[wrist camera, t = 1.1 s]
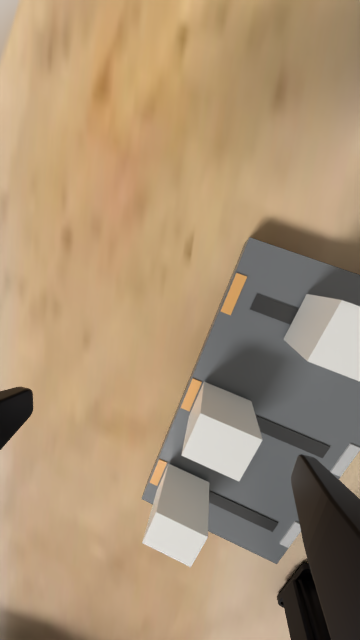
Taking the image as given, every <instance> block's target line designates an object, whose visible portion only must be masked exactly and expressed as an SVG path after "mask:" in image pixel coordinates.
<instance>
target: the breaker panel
mask: <svg viewBox="0 0 360 640" xmlns="http://www.w3.org/2000/svg"><path fill="white" fill-rule="evenodd" d="M306 294H310V295H316V296H322V297H327V298H333V299H339V300H343V301H346V302H349V303H352V304H354V305H357V306H360V275H358V274H355V273H352V272H349V271H347V270H344V269H341V268H338V267H335V266H332V265H329V264H326V263H323V262H320V261H317V260H314V259H311V258H309V257H306V256H303V255H300V254H297V253H294V252H291V251H288V250H285V249H282V248H279V247H276V246H273V245H271V244H268V243H265V242H262V241H259V240H256V239H253V238H250V237H249V239H248V240H247V241H246V242H245V245H244V247H243V249H242V252H241V254H240V257H239V259H238V262H237V264H236V267H235V269H234V271H233V274H232V276H231V279H230V281H229V284H228V286H227V288H226V291H225V293H224V296H223V298H222V301H221V303H220V306H219V308H218V310H217V313H216V315H215V318H214V320H213V323H212V325H211V327H210V330H209V332H208V335H207V337H206V340H205V342H204V345H203V347H202V349H201V352H200V354H199V357H198V359H197V362H196V364H195V366H194V369H193V371H192V374H191V376H190V379H189V381H188V384H187V386H186V388H185V391H184V393H183V396H182V398H181V401H180V403H179V405H178V408H177V410H176V413H175V415H174V418H173V420H172V423H171V425H170V427H169V430H168V432H167V435H166V437H165V440H164V442H163V444H162V447H161V449H160V452H159V454H158V457H157V459H156V462H155V464H154V466H153V469H152V471H151V474H150V476H149V479H148V481H147V484H146V487H145V490H144V493H143V496H142V499H143V500H145V501H147V502H149V503H151V504H153V502H154V499H155V495H156V491H157V489H158V486H159V484H160V482H161V479H162V477H163V475H164V473H165V470H166V468H167V466H168V464H170V465H173V466H175V467H177V468H179V469H181V470H183V471H186V472H188V473H190V474H192V475H194V476H196V477H199V478H201V479H203V480H205V481H207V482H209V513H208V531H209V532H211V533H213V534H215V535H217V536H220V537H222V538H224V539H226V540H228V541H230V542H232V543H234V544H236V545H238V546H240V547H242V548H244V549H247V550H249V551H251V552H253V553H255V554H257V555H259V556H261V557H263V558H265V559H267V560H269V561H271V562H273V563H276V564H277V563H278V562H279V560H280V559H281V558H282V556H283V555H284V553H285V552H286V551H287V549H288V548H289V547H290V545H291V544H292V542H293V541H294V540H295V538H296V537H297V536H298V534H299V533H300V532H301V528H300V524H299V519H298V514H297V509H296V505H295V500H294V495H293V490H292V486H291V474H292V471H293V468H294V465H295V462H296V459H297V457H298V455H300V454H303V455H307V456H311V457H314V458H316V459H317V460H318V461H319V462H320V463H321V464H322V465H324V466H325V467H326V468H327V469H328V470H329V471H330V472H331V473H332V474H333V475H334V476H335V477H336V478H337V479H339V478H340V477H341V475H342V474H343V473H344V471H345V470H346V469H347V467H348V466H349V464H350V463H351V462H352V460H353V459H354V458H355V456H356V455H357V454H358V452H359V451H360V381H357V380H354V379H352V378H349V377H347V376H344V375H341V374H339V373H336V372H334V371H331V370H329V369H326V368H323V367H321V366H318V365H316V364H313V363H310V362H308V361H306V360H305V359H304V358H303V357H302V356H301V355H300V354H299V353H298V352H297V351H295V350H294V349H293V348H292V347H291V346H290V345H289V344H288V343H287V342H286V341H284V340H283V339H284V337H285V335H286V333H287V331H288V329H289V327H290V325H291V323H292V322H293V320H294V318H295V316H296V314H297V312H298V310H299V308H300V306H301V304H302V302H303V300H304V298H305V296H306ZM203 382H206V383H209V384H211V385H214V386H216V387H219V388H221V389H223V390H226V391H228V392H231V393H233V394H235V395H238V396H240V397H243V398H245V399H247V400H250V401H252V405H253V408H254V412H255V415H256V419H257V422H258V426H259V429H260V432H261V436H262V439H263V440H262V442H261V444H260V446H259V447H258V449H257V451H256V453H255V454H254V456H253V458H252V460H251V462H250V463H249V465H248V467H247V469H246V470H245V472H244V474H243V476H242V477H241V479H240V481H237V480H234V479H232V478H230V477H228V476H226V475H223V474H221V473H219V472H217V471H215V470H212V469H210V468H208V467H206V466H203V465H201V464H199V463H197V462H195V461H192V460H190V459H188V458H186V457H184V456H181V455H182V450H183V445H184V439H185V434H186V429H187V424H188V419H189V415H190V412H191V410H192V408H193V406H194V403H195V401H196V399H197V396H198V394H199V392H200V389H201V387H202V385H203Z"/></svg>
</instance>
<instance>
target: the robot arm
mask: <svg viewBox="0 0 360 640" xmlns="http://www.w3.org/2000/svg"><path fill="white" fill-rule="evenodd" d="M32 412H33V393H32V390H31V389H28V388H24V387H16V388H12V389H8V390H4V391H0V450H1V449H2V448H3V446H4V445H5V444H6V443H7V442H8V441H9V440H10V438H11V437H12V436H13V435H14V434H15V433H16V432H17V431H18V429H19V428H20V427H21V426H22V425H23V424H24V423H25V421H26V420H27V419H28V418H29V417H30V416H31V414H32ZM291 486H292V490H293V495H294V500H295V505H296V509H297V514H298V519H299V524H300V528H301V533H302V538H303V542H304V547H305V551H306V555H307V559H308V562H309V564H307V563H304V564H302V565H301V566H300V567H299V569H298V570H297V571H296V573H295V574H294V575H293V576H292V578H291V579H290V580H289V582H288V583H287V584H286V585H285V587H284V588H283V589H282V590H281V592H280V593H279V594H278V596H277V600H278V604H279V605H280V606H282V607H284V609H285V613H286V618H287V623H288V628H289V633H290V637H291V640H360V499H359V498H358V497H357V496H356V495H355V494H354V493H352V492H351V491H350V490H349V489H348V488H347V487H346V486H345V485H344V484H343V483H342V482H341V481H340V480H339V479H337V478H336V477H335V476H334V475H333V474H332V473H331V472H330V471H329V470H328V469H327V468H326V467H325V466H324V465H322V464H321V463H320V462H319V461H318V460H317V459H316V458H314V457H311V456H307V455H303V454H300V455H298V457H297V459H296V462H295V465H294V468H293V471H292V474H291Z"/></svg>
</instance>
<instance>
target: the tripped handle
mask: <svg viewBox="0 0 360 640" xmlns="http://www.w3.org/2000/svg"><path fill="white" fill-rule="evenodd" d="M283 340H284V341H286V342H287V343H288V344H289V345H290V346H291V347H292V348H293V349H294V350H295V351H297V352H298V353H299V354H300V355H301V356H302V357H303V358H304V359H305V360H306V361H308V362H310V363H313V364H316V365H318V366H321V367H323V368H326V369H329V370H331V371H334V372H336V373H339V374H341V375H344V376H347V377H349V378H352V379H354V380H357V381H360V306H357V305H354V304H352V303H349V302H346V301H343V300H339V299H333V298H327V297H322V296H316V295H310V294H306V296H305V298H304V300H303V302H302V304H301V306H300V308H299V310H298V312H297V314H296V316H295V318H294V320H293V322H292V323H291V325H290V327H289V329H288V331H287V333H286V335H285V337H284V339H283Z"/></svg>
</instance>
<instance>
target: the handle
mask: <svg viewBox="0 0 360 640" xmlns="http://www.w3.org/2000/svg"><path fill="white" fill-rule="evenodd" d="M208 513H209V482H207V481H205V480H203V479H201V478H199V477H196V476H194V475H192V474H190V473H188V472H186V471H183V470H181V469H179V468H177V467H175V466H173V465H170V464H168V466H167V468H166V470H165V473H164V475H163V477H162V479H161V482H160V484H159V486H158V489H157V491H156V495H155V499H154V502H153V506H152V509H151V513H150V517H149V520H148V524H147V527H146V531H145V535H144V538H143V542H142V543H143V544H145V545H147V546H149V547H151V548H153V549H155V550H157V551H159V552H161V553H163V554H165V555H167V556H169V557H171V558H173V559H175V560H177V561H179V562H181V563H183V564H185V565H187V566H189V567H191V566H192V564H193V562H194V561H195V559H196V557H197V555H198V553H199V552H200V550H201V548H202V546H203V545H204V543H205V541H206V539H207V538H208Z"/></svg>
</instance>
